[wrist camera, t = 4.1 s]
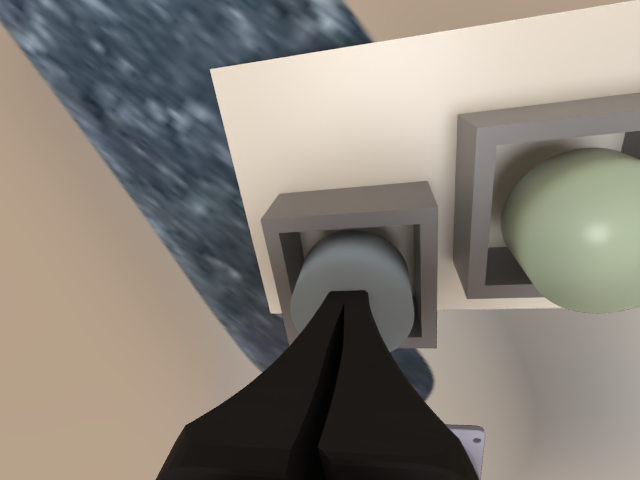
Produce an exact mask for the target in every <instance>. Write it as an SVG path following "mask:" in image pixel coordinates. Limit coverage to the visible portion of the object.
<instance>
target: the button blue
mask: <svg viewBox="0 0 640 480" xmlns="http://www.w3.org/2000/svg"><path fill="white" fill-rule="evenodd" d="M351 290H365V291H367V292H368V295H369V305H370V309H371V312H372V315H373V318H374V320H375V323H376V325H377V328H378V330H379V332H380V334H381V337H382V339H383V341H384V342H385V344H386V346H387V348H388V350H389V352H392V351H393V350H395V349H396V348H398V347H399V346H400V345H401V344H402V343H403V342H404V341H405V340H406V338H407V337H408V335H409V334H410V332H411V329H412V327H413V323H414V306H413V299H412V292H411V285H410V279H409V272H408V267H407V264H406V261H405V259H404V257H403V256H402V254H401V253H400V251H399V250H398V249H397V248H396V247H395V246H394V245H393V244H392V243H391V242H389V241H388V240H386V239H385V238H383V237H381V236H379V235H376V234H373V233H370V232H366V231H360V230H347V231H340V232H336V233H333V234H331V235H328V236H326V237H324V238H323V239H321V240H320V241H318V242H317V243H316V244H315V245H314V246H313V247H312V248H311V250H310V251H309V252H308V254H307V256H306V258H305V261H304V264H303V266H302V269H301V272H300V275H299V278H298V280H297V283H296V286H295V289H294V292H293V294H292V297H291V303H290V312H291V317H292V321H293V323H294V325H295V328H296V329H297V331H298V332H299V334H300V333H301V332H302V330H303V329H304V328H305V327H306V325H307V324H308V323H309V321H310V320H311V318H312V317H313V316H314V314H315V313H316V311H317V310H318V308H319V307H320V305H321V304H322V302H323V301H324V299H325V298H326V296H327V294H328V293H329V292H330V291H351Z"/></svg>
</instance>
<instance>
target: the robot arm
mask: <svg viewBox="0 0 640 480" xmlns="http://www.w3.org/2000/svg"><path fill="white" fill-rule="evenodd" d="M484 443H485V432H484V429H483V428H482V427H480V426H472V425H446V424H444V423H443V422H442V421H441V420H440V419H439V417H438V416H437V415H436V414H435V413H434V412H433V411H432V410H431V409H430V407H429V406H428V405H427V404H426V403H425V402H424V400H423V399H422V398H421V397H420V395H419V394H418V393H417V391H416V390H415V389H414V388H413V386H412V385H411V384H410V383H409V381H408V380H407V378H406V377H405V376H404V374H403V373H402V371H401V370H400V368H399V367H398V365H397V363H396V362H395V360H394V359H393V357H392V355H391V354H390V352H389V350H388V348H387V346H386V344H385V342H384V341H383V339H382V337H381V334H380V332H379V330H378V328H377V325H376V323H375V320H374V318H373V315H372V312H371V309H370V305H369V295H368V292H367V291H365V290H351V291H330V292H329V293H328V294H327V296H326V298H325V299H324V301H323V302H322V304H321V305H320V307H319V308H318V310H317V311H316V313H315V314H314V316H313V317H312V318H311V320H310V321H309V323H308V324H307V325H306V327H305V328H304V329H303V330H302V332H301V333H300V334H299V335H298V336H297V338H296V339H295V340H294V341H293V342H292V344H291V345H290V346H289V347H288V348H287V349H286V350H285V351H284V353H283V354H282V355H281V356H280V357H279V358H278V359H277V360H276V361H275V362H274V363H273V364H272V365H271V366H269V367H268V368H267V369H266V370H265V371H264V372H263V373H262V374H260V375H259V376H258V377H257V378H256V379H254V380H253V381H252V382H251V383H250V384H249V385H247V386H246V387H245V388H243V389H242V390H240V391H239V392H238V393H236V394H235V395H234V396H232V397H231V398H229V399H228V400H226V401H225V402H223V403H222V404H220V405H219V406H217V407H216V408H214V409H212V410H211V411H209V412H208V413H206V414H204V415H203V416H201V417H199V418H198V419H196V420H194V421H193V422H191V423H189V424H187V425H186V426H185V427H184V429H183V430H182V432H181V434H180V435H179V437H178V439H177V440H176V442H175V444H174V446H173V447H172V449H171V451H170V453H169V455H168V457H167V459H166V461H165V463H164V465H163V467H162V469H161V471H160V472H159V474H158V477H157V478H156V480H481V470H482V461H483V452H484Z"/></svg>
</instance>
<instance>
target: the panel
mask: <svg viewBox="0 0 640 480" xmlns="http://www.w3.org/2000/svg"><path fill="white" fill-rule="evenodd" d="M210 72H211V76H212V80H213V84H214V88H215V92H216V96H217V100H218V104H219V108H220V112H221V116H222V120H223V124H224V128H225V132H226V136H227V140H228V144H229V148H230V152H231V156H232V160H233V164H234V168H235V172H236V176H237V180H238V184H239V188H240V192H241V196H242V200H243V204H244V208H245V212H246V216H247V220H248V225H249V229H250V233H251V237H252V241H253V245H254V249H255V253H256V257H257V261H258V265H259V269H260V273H261V277H262V281H263V285H264V289H265V293H266V297H267V301H268V305H269V309H270V313H282V316H283V320H284V324H285V329H286V333H287V337H288V342H289V346H290V345H291V344H292V342H293V341H294V340H295V339H296V338H297V336H298V335H299V332H298V331H297V329H296V328H295V325H294V323H293V321H292V317H291V312H290V303H291V297H292V294H293V292H294V289H295V286H296V283H297V280H298V278H299V275H300V272H301V269H302V266H303V264H304V261H305V258H306V256H307V254H308V252H309V251H310V250H311V248H312V247H313V246H314V245H315V244H316V243H317V242H318V241H320V240H321V239H323V238H324V237H326V236H328V235H331V234H333V233H336V232H340V231H347V230H360V231H366V232H370V233H373V234H376V235H379V236H381V237H383V238H385V239H386V240H388V241H389V242H391V243H392V244H393V245H394V246H395V247H396V248H397V249H398V250H399V251H400V253H401V254H402V256H403V257H404V259H405V261H406V264H407V267H408V272H409V279H410V285H411V292H412V299H413V306H414V323H413V327H412V329H411V332H410V334H409V335H408V337H407V338H406V340H405V341H404V342H403V343H402V344H401V345H400V346H399V347H398V348H437V310H470V309H471V310H473V309H474V310H476V309H528V308H529V309H530V308H562V307H560V306H558V305H556V304H554V303H552V302H550V301H549V300H548V299H546V298H545V297H544V296H543V295H542V294H541V293H540V292H539V291H538V290H537V289H536V287H535V286H534V285H533V283H532V282H531V280H530V279H529V277H528V276H527V275H526V273H525V272H524V270H523V269H522V267H521V266H520V265H519V263H518V262H517V260H516V259H515V257H514V256H513V254H512V253H511V252H510V250H509V249H508V247H507V245H506V244H505V242H504V239H503V236H502V231H501V216H502V211H503V208H504V205H505V202H506V200H507V198H508V196H509V194H510V193H511V191H512V190H513V188H514V187H515V186H516V184H517V183H518V182H519V181H520V180H521V179H522V178H523V177H524V176H525V175H526V174H527V173H528V172H529V171H530V170H532V169H533V168H534V167H536V166H537V165H539V164H540V163H542V162H543V161H545V160H547V159H549V158H551V157H553V156H556V155H558V154H561V153H564V152H567V151H571V150H575V149H581V148H594V147H597V148H607V149H612V150H616V151H619V152H621V153H624V154H627V155H629V156H632V157H635V158H637V159H640V0H633V1H627V2H621V3H615V4H608V5H602V6H597V7H590V8H584V9H578V10H572V11H565V12H560V13H554V14H547V15H541V16H535V17H528V18H522V19H516V20H510V21H504V22H498V23H492V24H485V25H479V26H473V27H467V28H461V29H455V30H449V31H443V32H437V33H430V34H424V35H418V36H412V37H406V38H400V39H393V40H388V41H381V42H375V43H369V44H363V45H357V46H350V47H344V48H338V49H332V50H326V51H320V52H314V53H308V54H301V55H295V56H289V57H283V58H277V59H271V60H265V61H258V62H252V63H246V64H240V65H234V66H228V67H222V68H215V69H210Z"/></svg>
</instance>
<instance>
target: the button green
mask: <svg viewBox="0 0 640 480" xmlns="http://www.w3.org/2000/svg"><path fill="white" fill-rule="evenodd" d="M501 231H502V236H503V239H504V242H505V244H506V245H507V247H508V249H509V250H510V252H511V253H512V254H513V256H514V257H515V259H516V260H517V262H518V263H519V265H520V266H521V267H522V269H523V270H524V272H525V273H526V275H527V276H528V277H529V279H530V280H531V282H532V283H533V285H534V286H535V287H536V289H537V290H538V291H539V292H540V293H541V294H542V295H543V296H544V297H545V298H546V299H548V300H549V301H550V302H552V303H554V304H556V305H558V306H560V307H562V308H565V309H568V310H572V311H576V312H582V313H596V314H600V313H613V312H620V311H624V310H629V309H632V308H636V307H639V306H640V159H637V158H635V157H632V156H629V155H627V154H624V153H621V152H619V151H616V150H612V149H607V148H597V147H594V148H581V149H575V150H571V151H567V152H564V153H561V154H558V155H556V156H553V157H551V158H549V159H547V160H545V161H543V162H542V163H540V164H539V165H537V166H536V167H534V168H533V169H532V170H530V171H529V172H528V173H527V174H526V175H525V176H524V177H523V178H522V179H521V180H520V181H519V182H518V183H517V184H516V186H515V187H514V188H513V190H512V191H511V193H510V194H509V196H508V198H507V200H506V202H505V205H504V208H503V211H502V216H501Z"/></svg>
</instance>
